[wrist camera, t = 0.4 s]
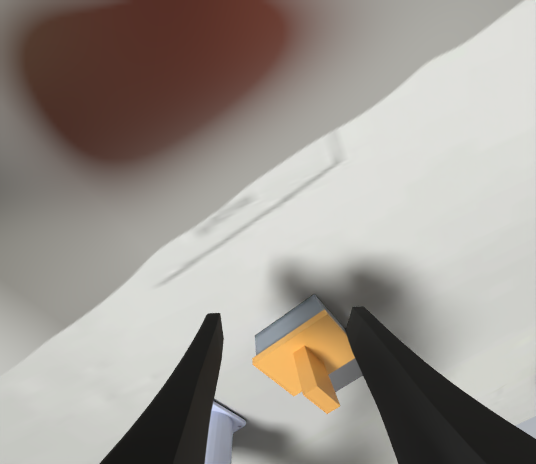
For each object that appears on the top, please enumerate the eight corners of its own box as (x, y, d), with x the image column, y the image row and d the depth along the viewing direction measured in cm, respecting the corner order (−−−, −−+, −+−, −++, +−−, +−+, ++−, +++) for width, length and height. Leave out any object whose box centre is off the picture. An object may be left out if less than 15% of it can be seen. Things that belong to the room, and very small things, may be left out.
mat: (316, 399, 30) (317, 402, 30) (281, 371, 27) (282, 374, 27) (384, 358, 28) (386, 360, 28) (355, 323, 25) (356, 325, 25)
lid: (291, 382, 25) (302, 441, 20) (252, 351, 22) (254, 409, 17) (355, 341, 24) (386, 392, 18) (321, 303, 21) (346, 350, 16)
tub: (288, 363, 27) (293, 387, 24) (255, 335, 24) (256, 358, 22) (343, 327, 26) (355, 347, 23) (314, 294, 23) (323, 312, 20)
